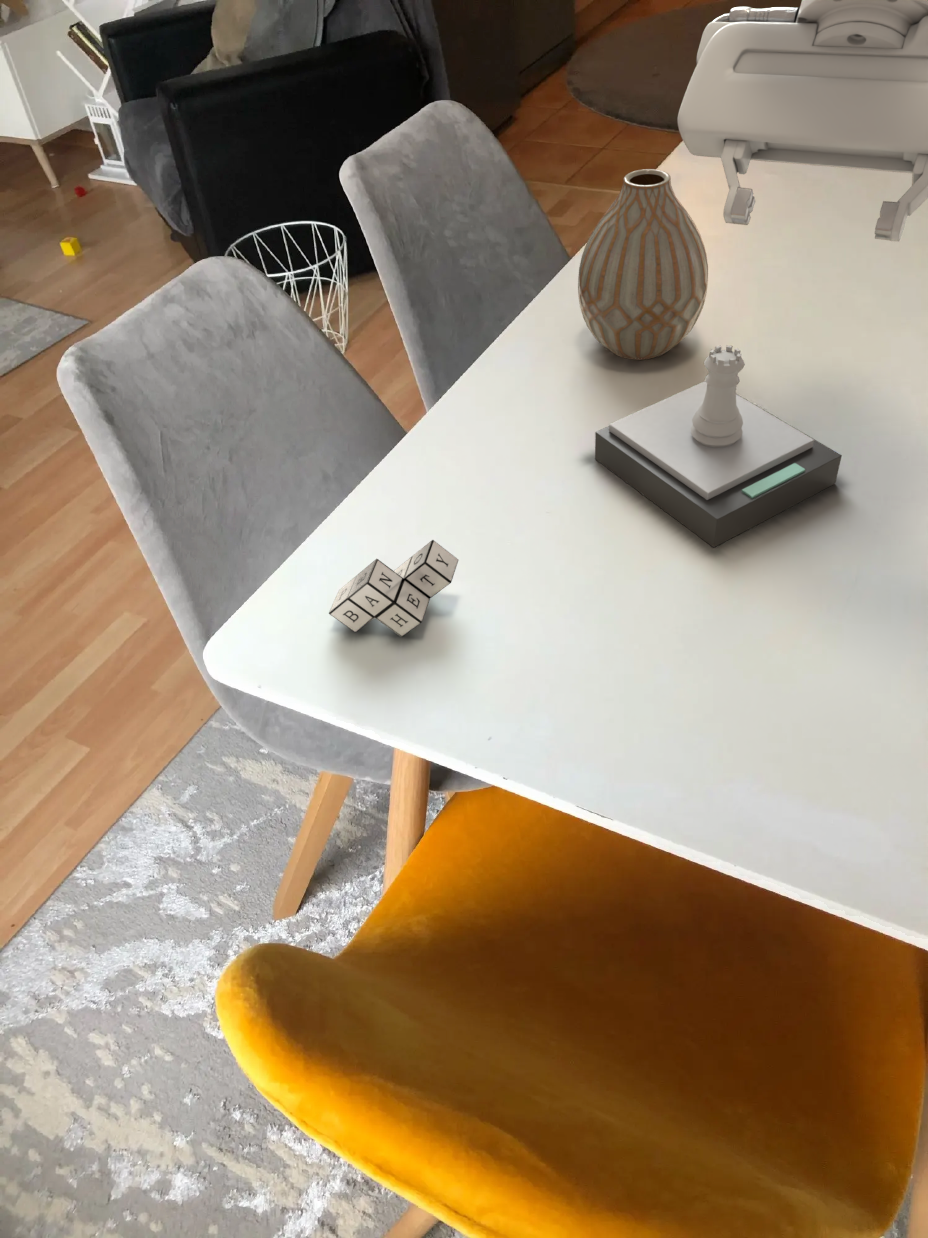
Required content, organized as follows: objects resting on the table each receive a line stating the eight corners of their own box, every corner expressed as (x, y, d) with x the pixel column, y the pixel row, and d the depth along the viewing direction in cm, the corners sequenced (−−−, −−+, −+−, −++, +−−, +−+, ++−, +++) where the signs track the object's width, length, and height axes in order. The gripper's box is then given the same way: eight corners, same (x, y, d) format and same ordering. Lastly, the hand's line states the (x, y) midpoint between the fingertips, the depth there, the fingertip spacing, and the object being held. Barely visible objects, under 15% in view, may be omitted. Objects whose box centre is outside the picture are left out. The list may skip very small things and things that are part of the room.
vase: (699, 378, 98) (716, 204, 85) (571, 374, 100) (569, 205, 88) (703, 315, 106) (719, 150, 94) (585, 313, 109) (585, 152, 97)
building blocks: (381, 651, 77) (443, 606, 72) (328, 613, 75) (387, 565, 70) (398, 605, 80) (458, 559, 75) (348, 568, 78) (406, 518, 73)
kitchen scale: (835, 483, 84) (843, 447, 81) (713, 547, 79) (718, 511, 77) (709, 405, 94) (712, 371, 91) (594, 458, 89) (595, 424, 87)
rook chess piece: (727, 455, 82) (738, 372, 76) (680, 440, 84) (687, 358, 78) (751, 429, 84) (763, 347, 78) (704, 415, 86) (713, 334, 80)
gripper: (702, -25, 61) (641, 190, 62) (1062, -23, 53) (986, 224, 54) (717, 35, 67) (662, 231, 68) (1044, 45, 59) (976, 267, 60)
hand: (808, 228), depth 61 cm, fingers open, 8 cm apart
